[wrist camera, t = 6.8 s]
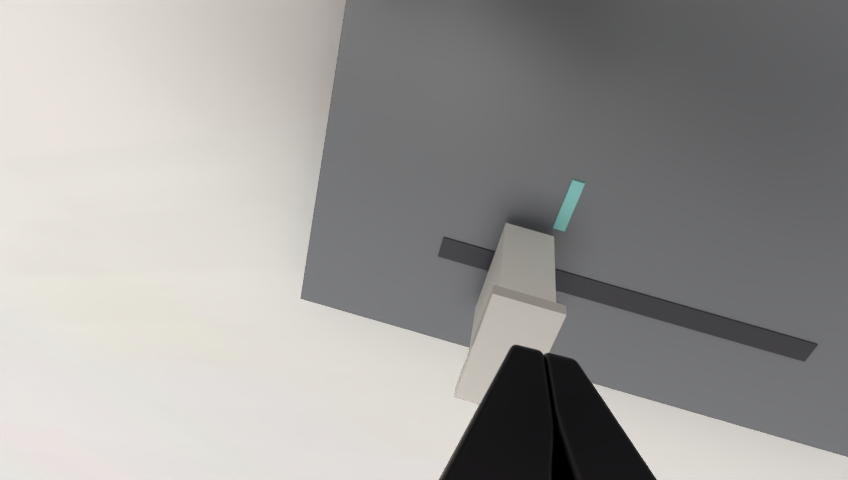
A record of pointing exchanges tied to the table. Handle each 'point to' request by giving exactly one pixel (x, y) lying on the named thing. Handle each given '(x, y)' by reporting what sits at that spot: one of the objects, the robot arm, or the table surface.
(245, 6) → the table surface
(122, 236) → the table surface
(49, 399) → the table surface
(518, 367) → the robot arm
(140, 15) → the table surface
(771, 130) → the console
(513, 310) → the fader
